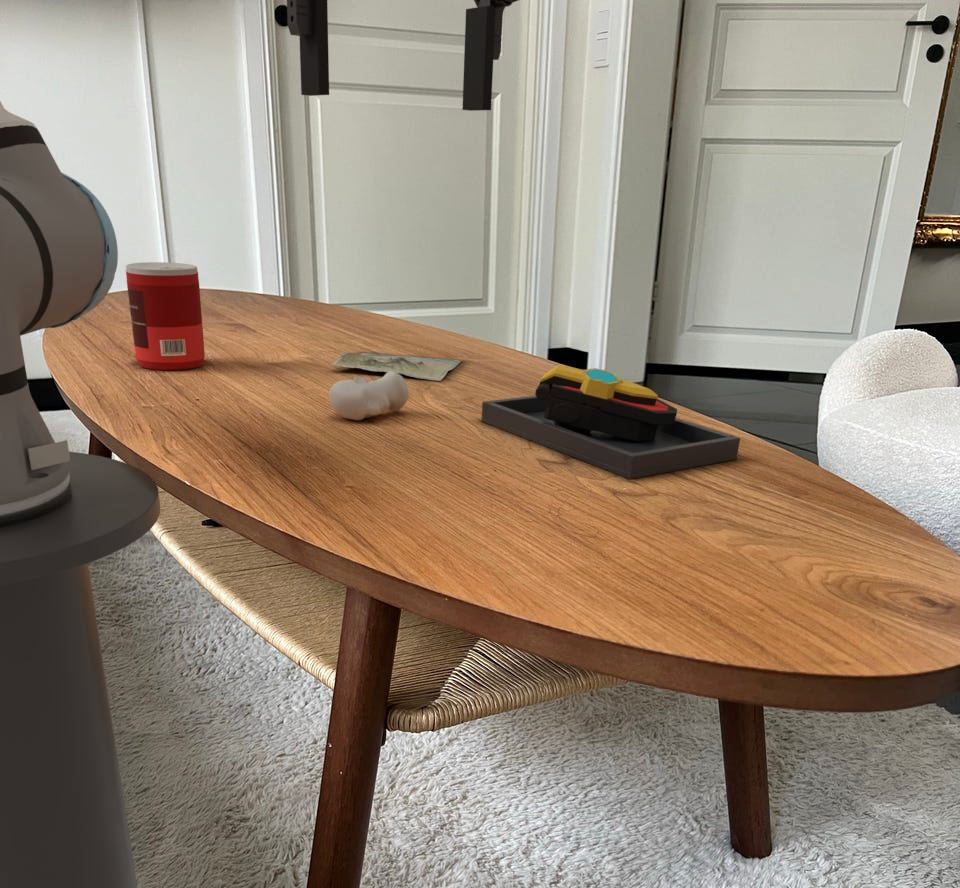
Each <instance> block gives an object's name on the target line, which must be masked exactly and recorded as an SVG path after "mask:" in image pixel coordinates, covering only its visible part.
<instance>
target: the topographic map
mask: <svg viewBox="0 0 960 888" xmlns="http://www.w3.org/2000/svg"><path fill="white" fill-rule="evenodd" d="M460 363H461V360H458V359H445V358H444V359H443V358H434V357H433V358H432V357H419V356H407V355H394V354H393V355H392V354H383V353H382V354H381V353H370V352H369V353H367V352H361V353H359V354H358V353H352V352H346V351H345V352H343V353H342V354H341V355H340V356H339V357H338V358H337V359H336V360H335V361H334V362H333V363H331V364H330V366H338V367H344V368H351V369H355V368H356V369H361V370H365V371H370V372H383V373H387V372H389V371H393V372H395V373H397V374H399V375H404V376H407V377H412V378H416V379H422V380H428V381H438V382H441V381H442V380H443V379H444V378H445V377H446V375H447V374H448V372H449V371H452V370H454V369H455V368H456V367H457V366H458V365H459V364H460Z"/></svg>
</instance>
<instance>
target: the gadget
mask: <svg viewBox="0 0 960 888" xmlns="http://www.w3.org/2000/svg"><path fill="white" fill-rule="evenodd" d="M534 393H535V394H534V396H536V397H537V399H539V400H545V399H547V398H548V396H549V395H550V396H549V398H548V402H547V407H546V411H545V415H544V418H545V419H548V420H552V421H553V422H554V424H555V425H557V426H559V427H562V428H565V429H568V430H571V431H573V432H576V433H579V434H586V433H589V432H591V431H598V432H602V433H606V434H610V435H614V436H618V437H621V438H625V439H629V440H633V441H654V439H655V436H656V432H657V429H658V426H659V425H671V424H674V421H675V418H677V414H678V408H677V407H674V406H672V405H670V404H668V403H667V402H665V401H663V400H661V399H659V395H658V394H657V393H656V392H655V391H654V390H652V389H651V388H649V387H645V386H642V385H640V384H638V383H636V382H632V381H628V380H624V379H621V378H620V377H619V376H618V375H617V374H616V373H615V372H612V371H609V370H606V369H600V368H596V367H592V368H587V369H581V368H576V367H572V366H568V365H566V364H565V365H564V364H560V363H559V364H558V365H556V366H554V367H553V368H552V369H550V370H548V371H547V372H545V373H544V374H543V376H542V377H541V378H540V380H539V385H538V386H537V387H536V389H535V392H534Z"/></svg>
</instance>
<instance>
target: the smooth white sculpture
mask: <svg viewBox="0 0 960 888" xmlns="http://www.w3.org/2000/svg"><path fill="white" fill-rule="evenodd" d="M328 400H329V403H330V406H331V408H332V410H333V411H334V412H335V413H336V414H337V415H339V416H340V417H342V418H344V419H348V420H353V421H362V420H364V419H369V418H371V417H374V416H378V415H379V414H380V413H383V412H386V411H389V412H391V413H395V412H399V411H400V410H401V409H403V408H404V406H405V405H406V404H407V403H408V400H409V388H408V385H407V383H406V380H405V378H404V376H402V374H398V373H395V372H393V371H389V372H385V374H384V375H383V376H382V377H381V378H378V379H375V380H368V379H366V378H364V377H362V376H355V377H354V378H353V379H343V380H340V381H337V382H335V383H334V384H333V385H332V386H331V387H330V389H329V393H328Z"/></svg>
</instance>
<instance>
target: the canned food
mask: <svg viewBox="0 0 960 888" xmlns="http://www.w3.org/2000/svg"><path fill="white" fill-rule="evenodd" d="M125 275H126V276H125V277H126V287H127V295H128V305H129V312H130V318H131V319H130V320H131V321H130V322H131V329H132V330H131V331H132V337H133V338H132V339H133V346H134V354H135V355H134V356H135V359H136V361H137V363H138V366H140V367H142V368H144V369H149V370H159V371H183V370H190V369H196V368H199V367H201V366H202V365H203V364H204V363H205V357H206V356H205V355H206V353H205V341H204V328H203V327H204V326H203V315H202V303H201V291H200V290H201V289H200V279H199V278H200V277H199V272H198V266H196V265H194V264H191V263H182V262H181V263H180V262H167V261H166V262H165V261H163V262H162V261H161V262H160V261H159V262H157V261H149V262H147V261H146V262H134V263H129V264H126V265H125Z"/></svg>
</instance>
